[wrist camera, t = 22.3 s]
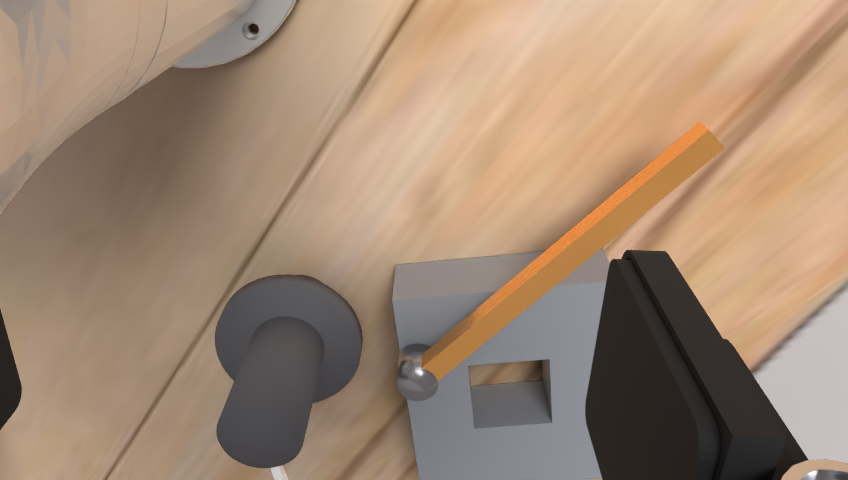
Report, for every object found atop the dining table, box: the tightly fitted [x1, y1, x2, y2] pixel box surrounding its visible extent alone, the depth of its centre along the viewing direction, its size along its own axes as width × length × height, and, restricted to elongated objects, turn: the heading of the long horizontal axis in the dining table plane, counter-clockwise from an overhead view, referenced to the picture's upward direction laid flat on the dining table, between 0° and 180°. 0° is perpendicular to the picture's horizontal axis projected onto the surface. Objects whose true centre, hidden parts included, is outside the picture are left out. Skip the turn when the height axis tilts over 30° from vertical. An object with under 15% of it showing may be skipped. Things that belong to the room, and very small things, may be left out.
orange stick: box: [397, 122, 724, 401], centre depth 36 cm, size 20×2×2 cm, turn 136°
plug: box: [215, 275, 362, 468], centre depth 38 cm, size 8×8×12 cm
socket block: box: [392, 248, 610, 480], centre depth 43 cm, size 12×14×4 cm
